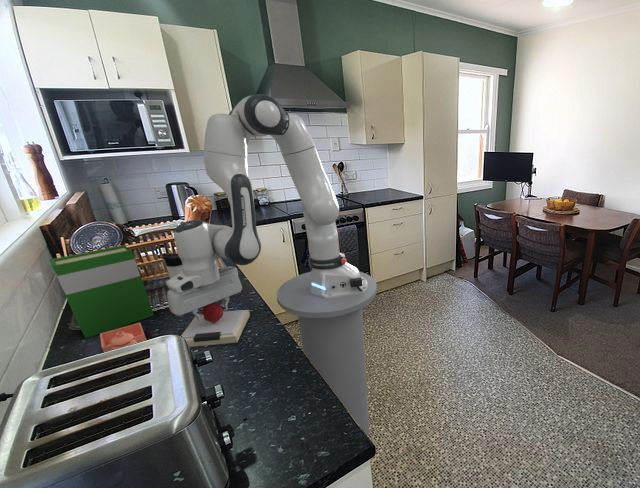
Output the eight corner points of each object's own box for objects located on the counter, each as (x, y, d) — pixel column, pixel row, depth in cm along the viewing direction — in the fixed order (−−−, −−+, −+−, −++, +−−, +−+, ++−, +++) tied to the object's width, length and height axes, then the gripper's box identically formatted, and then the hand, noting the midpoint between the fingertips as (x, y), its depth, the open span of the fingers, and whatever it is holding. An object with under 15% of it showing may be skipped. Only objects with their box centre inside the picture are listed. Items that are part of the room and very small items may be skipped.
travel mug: (173, 308, 123) (157, 256, 115) (190, 300, 129) (176, 250, 121) (187, 311, 122) (171, 259, 113) (203, 303, 127) (189, 252, 119)
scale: (250, 315, 120) (248, 307, 119) (237, 342, 106) (235, 334, 105) (199, 319, 117) (196, 312, 116) (178, 348, 103) (175, 339, 101)
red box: (104, 345, 103) (92, 317, 99) (144, 333, 109) (134, 306, 105) (109, 376, 91) (96, 345, 87) (153, 361, 97) (142, 331, 93)
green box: (147, 308, 123) (125, 244, 113) (154, 315, 119) (131, 250, 109) (80, 329, 110) (49, 259, 101) (85, 338, 106) (53, 266, 96)
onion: (226, 316, 114) (221, 294, 111) (224, 325, 109) (218, 303, 106) (206, 319, 112) (200, 297, 108) (203, 328, 107) (196, 306, 104)
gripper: (230, 261, 113) (238, 299, 119) (159, 284, 97) (172, 325, 103) (241, 266, 110) (249, 304, 116) (170, 290, 94) (183, 332, 100)
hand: (212, 314), depth 109 cm, fingers closed on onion, 6 cm apart
